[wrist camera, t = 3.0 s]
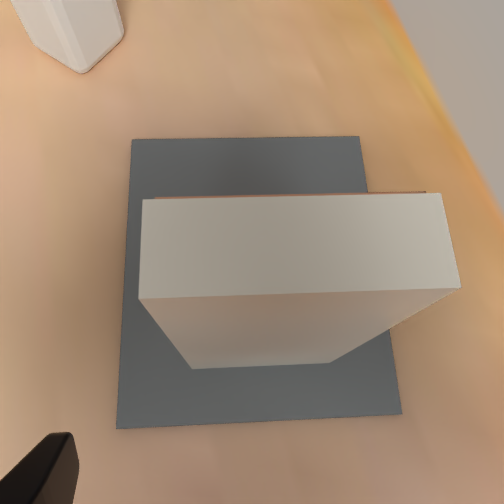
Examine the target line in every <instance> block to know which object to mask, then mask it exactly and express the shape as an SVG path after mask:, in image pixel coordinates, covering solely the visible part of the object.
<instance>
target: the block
mask: <svg viewBox="0 0 504 504" xmlns="http://www.w3.org/2000/svg"><path fill="white" fill-rule="evenodd" d="M460 288H462V287H461V282H460V278H459V273H458V269H457V264H456V260H455V255H454V251H453V246H452V241H451V237H450V232H449V228H448V223H447V219H446V214H445V210H444V205H443V201H442V196H441V193H426V191H418V192H372V193H325V194H278V195H232V196H185V197H155V199H143V202H142V226H141V249H140V273H139V297H138V299H139V300H140V302H141V303H142V304H143V306H144V307H145V308H146V309H147V311H148V312H149V313H150V315H151V316H152V317H153V319H154V320H155V321H156V323H157V324H158V325H159V326H160V328H161V329H162V330H163V332H164V333H165V334H166V336H167V337H168V338H169V340H170V341H171V342H172V343H173V345H174V346H175V347H176V349H177V350H178V351H179V353H180V354H181V355H182V357H183V358H184V359H185V360H186V362H187V363H188V364H189V366H190V367H191V368H192V369H206V368H228V367H251V366H274V365H296V364H319V363H330V362H332V361H334V360H336V359H337V358H339V357H341V356H343V355H344V354H346V353H348V352H350V351H351V350H353V349H355V348H357V347H358V346H360V345H362V344H364V343H365V342H367V341H369V340H371V339H372V338H374V337H376V336H378V335H379V334H381V333H383V332H385V331H386V330H388V329H390V328H392V327H393V326H395V325H397V324H399V323H400V322H402V321H404V320H406V319H407V318H409V317H411V316H413V315H414V314H416V313H418V312H420V311H422V310H423V309H425V308H427V307H429V306H430V305H432V304H434V303H436V302H437V301H439V300H441V299H443V298H444V297H446V296H448V295H450V294H451V293H453V292H455V291H457V290H458V289H460Z"/></svg>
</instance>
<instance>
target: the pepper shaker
mask: <svg viewBox="0 0 504 504" xmlns="http://www.w3.org/2000/svg"><path fill="white" fill-rule="evenodd" d="M10 1H11V3H12V5H13V7H14V9H15V11H16V13H17V14H18V16H19V18H20V20H21V22H22V24H23V26H24V28H25V30H26V32H27V34H28V35H29V37H30V39H31V41H32V43H33V44H34V45H35V46H36V47H37V48H39V49H40V50H42V51H43V52H45V53H46V54H48V55H50V56H51V57H53V58H54V59H56V60H58V61H59V62H61V63H62V64H64V65H66V66H67V67H69V68H70V69H72V70H74V71H75V72H77V73H81V74H83V73H85V72H88V71H89V70H90V69H91V68H92V67H93V66H94V65H95V64H97V63H98V62H99V61H100V60H101V59H102V58H103V57H104V56H105V55H106V54H107V53H108V52H109V51H110V50H111V49H113V48H114V47H115V46H116V45H117V44H118V43H119V42H120V41H121V39H122V37H123V35H124V28H123V24H122V21H121V17H120V13H119V10H118V6H117V2H116V0H10Z"/></svg>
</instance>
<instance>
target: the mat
mask: <svg viewBox="0 0 504 504" xmlns="http://www.w3.org/2000/svg"><path fill="white" fill-rule="evenodd" d="M325 193H368V190H367V184H366V178H365V171H364V165H363V158H362V152H361V145H360V139H359V136H351V137H279V138H207V139H135V140H132V147H131V165H130V184H129V202H128V220H127V239H126V257H125V275H124V294H123V312H122V330H121V349H120V367H119V385H118V404H117V422H116V429H127V428H146V427H166V426H185V425H204V424H224V423H243V422H263V421H282V420H301V419H321V418H340V417H360V416H379V415H398V414H402V409H401V402H400V396H399V390H398V383H397V377H396V370H395V364H394V357H393V351H392V345H391V338H390V332H389V329H388V330H386V331H385V332H383V333H381V334H379V335H378V336H376V337H374V338H372V339H371V340H369V341H367V342H365V343H364V344H362V345H360V346H358V347H357V348H355V349H353V350H351V351H350V352H348V353H346V354H344V355H343V356H341V357H339V358H337V359H336V360H334V361H332V362H330V363H319V364H296V365H274V366H251V367H228V368H206V369H192V368H191V367H190V366H189V364H188V363H187V362H186V360H185V359H184V358H183V357H182V355H181V354H180V353H179V351H178V350H177V349H176V347H175V346H174V345H173V343H172V342H171V341H170V340H169V338H168V337H167V336H166V334H165V333H164V332H163V330H162V329H161V328H160V326H159V325H158V324H157V323H156V321H155V320H154V319H153V317H152V316H151V315H150V313H149V312H148V311H147V309H146V308H145V307H144V306H143V304H142V303H141V302H140V300H139V299H138V297H139V273H140V249H141V226H142V202H143V199H155V197H185V196H232V195H278V194H325Z"/></svg>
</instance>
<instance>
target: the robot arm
mask: <svg viewBox="0 0 504 504" xmlns="http://www.w3.org/2000/svg"><path fill="white" fill-rule="evenodd" d="M78 474H79V459H78V455H77V450H76V446H75V442H74V438H73V435H72V434H71V433H70V432H59V433H50V434H48V435H47V436H46V437H45V438H44V439H43V440H42V441H41V442H40V443H38V444H37V445H36V446H35V447H34V448H33V449H32V450H31V451H30V452H29V453H28V454H27V455H26V456H25V457H24V458H23V459H22V460H21V461H20V462H19V463H18V464H17V465H16V466H15V467H14V468H13V469H12V470H11V471H10V472H9V473H8V474H7V475H6V476H5V477H4V478H2V479H1V480H0V504H73V499H74V494H75V489H76V484H77V479H78Z"/></svg>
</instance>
